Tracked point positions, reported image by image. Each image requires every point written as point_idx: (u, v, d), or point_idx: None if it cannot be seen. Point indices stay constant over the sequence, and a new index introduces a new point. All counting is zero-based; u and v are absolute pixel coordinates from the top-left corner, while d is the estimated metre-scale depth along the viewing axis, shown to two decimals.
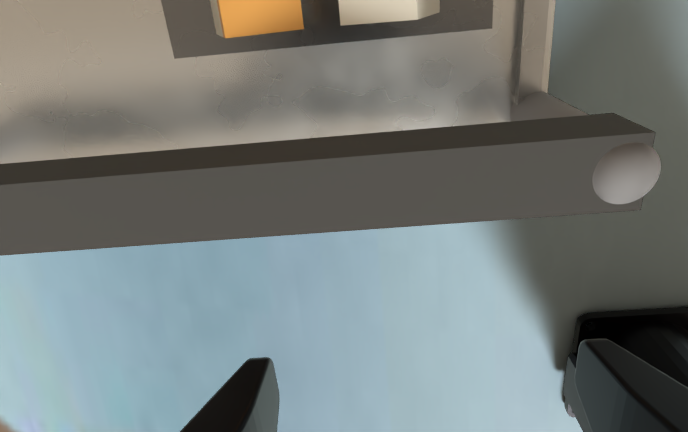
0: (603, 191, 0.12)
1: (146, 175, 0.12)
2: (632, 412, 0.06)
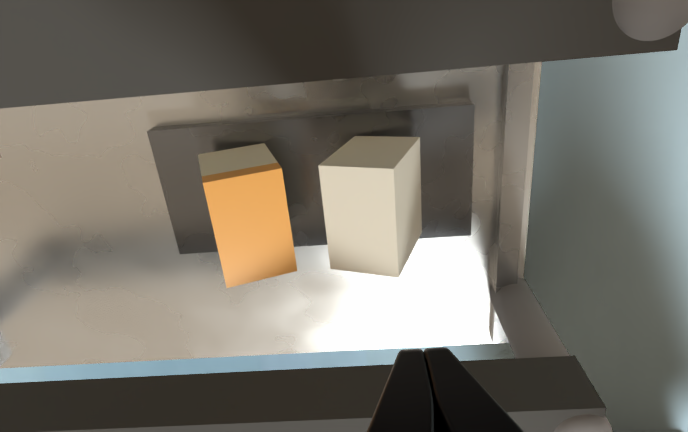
0: None
1: (155, 428, 0.13)
2: (439, 421, 0.07)
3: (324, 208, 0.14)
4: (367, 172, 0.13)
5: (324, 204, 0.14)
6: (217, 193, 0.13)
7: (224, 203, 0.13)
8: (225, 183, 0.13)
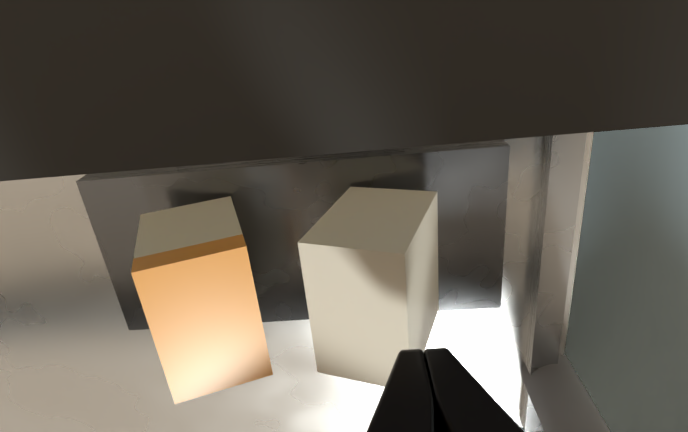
0: None
1: None
2: (439, 421, 0.07)
3: (307, 298, 0.10)
4: (366, 255, 0.09)
5: (307, 292, 0.10)
6: (154, 285, 0.09)
7: (165, 297, 0.09)
8: (165, 271, 0.09)
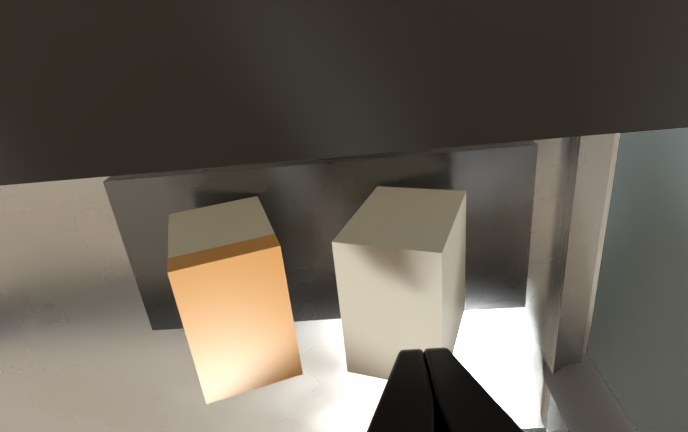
0: None
1: None
2: (439, 421, 0.07)
3: (340, 297, 0.10)
4: (402, 254, 0.09)
5: (340, 292, 0.10)
6: (189, 284, 0.09)
7: (199, 297, 0.09)
8: (200, 270, 0.09)
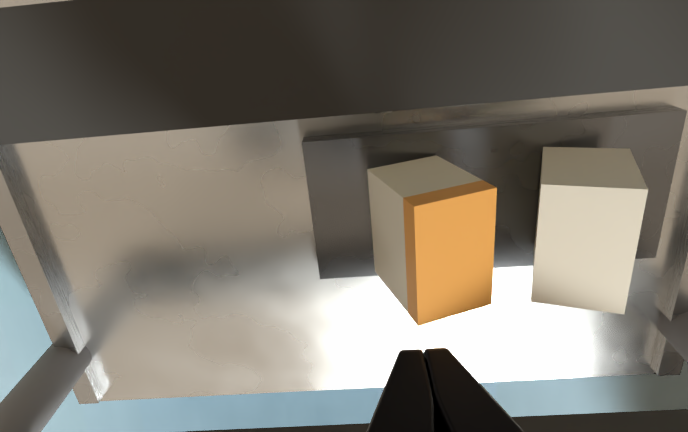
0: None
1: None
2: (439, 421, 0.07)
3: (538, 233, 0.12)
4: (609, 192, 0.11)
5: (539, 229, 0.12)
6: (427, 218, 0.11)
7: (432, 229, 0.11)
8: (436, 206, 0.11)
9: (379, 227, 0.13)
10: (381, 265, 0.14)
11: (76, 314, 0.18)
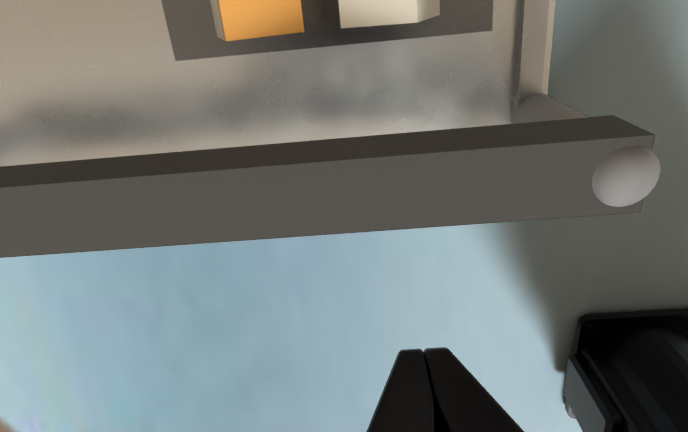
0: (603, 193, 0.12)
1: (146, 178, 0.12)
2: (439, 421, 0.07)
3: None
4: None
5: None
6: None
7: None
8: None
9: None
10: (215, 18, 0.15)
11: None
